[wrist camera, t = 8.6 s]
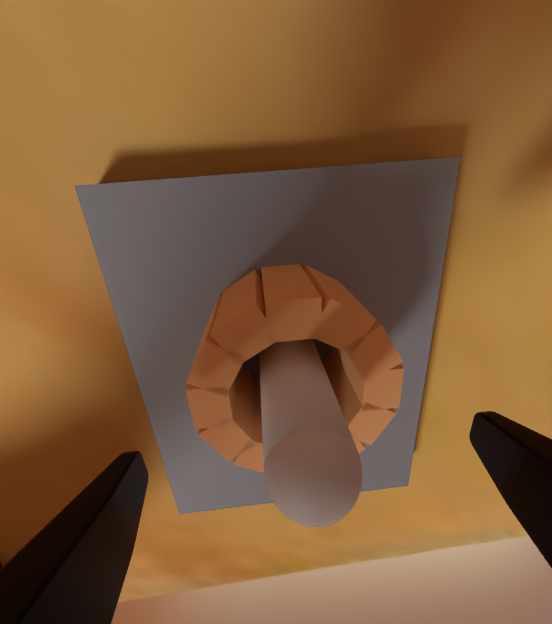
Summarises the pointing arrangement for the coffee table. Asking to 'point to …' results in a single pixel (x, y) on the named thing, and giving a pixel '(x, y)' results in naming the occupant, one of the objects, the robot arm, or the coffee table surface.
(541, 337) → the coffee table surface
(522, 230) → the coffee table surface
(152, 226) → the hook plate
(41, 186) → the coffee table surface
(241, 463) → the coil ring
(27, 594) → the robot arm
